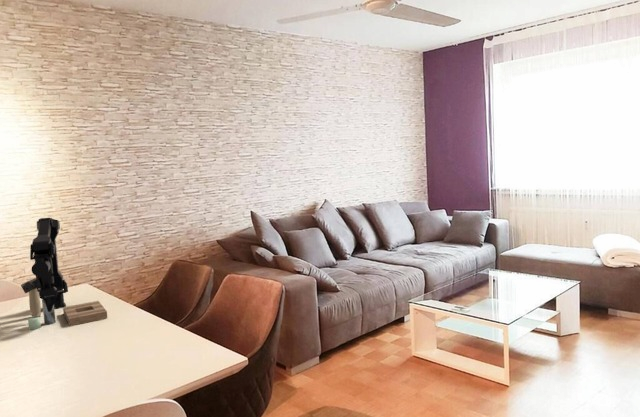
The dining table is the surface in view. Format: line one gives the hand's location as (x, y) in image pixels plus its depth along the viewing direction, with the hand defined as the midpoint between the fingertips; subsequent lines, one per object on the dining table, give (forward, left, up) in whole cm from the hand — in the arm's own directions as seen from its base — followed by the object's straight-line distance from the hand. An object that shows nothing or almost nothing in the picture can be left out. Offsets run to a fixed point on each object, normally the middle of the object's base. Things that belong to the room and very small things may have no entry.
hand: (48, 308), depth 196 cm
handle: (-14, -4, -6) cm, 16 cm away
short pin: (+3, -6, -6) cm, 9 cm away
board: (0, +13, -6) cm, 14 cm away
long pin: (0, 0, -6) cm, 6 cm away
